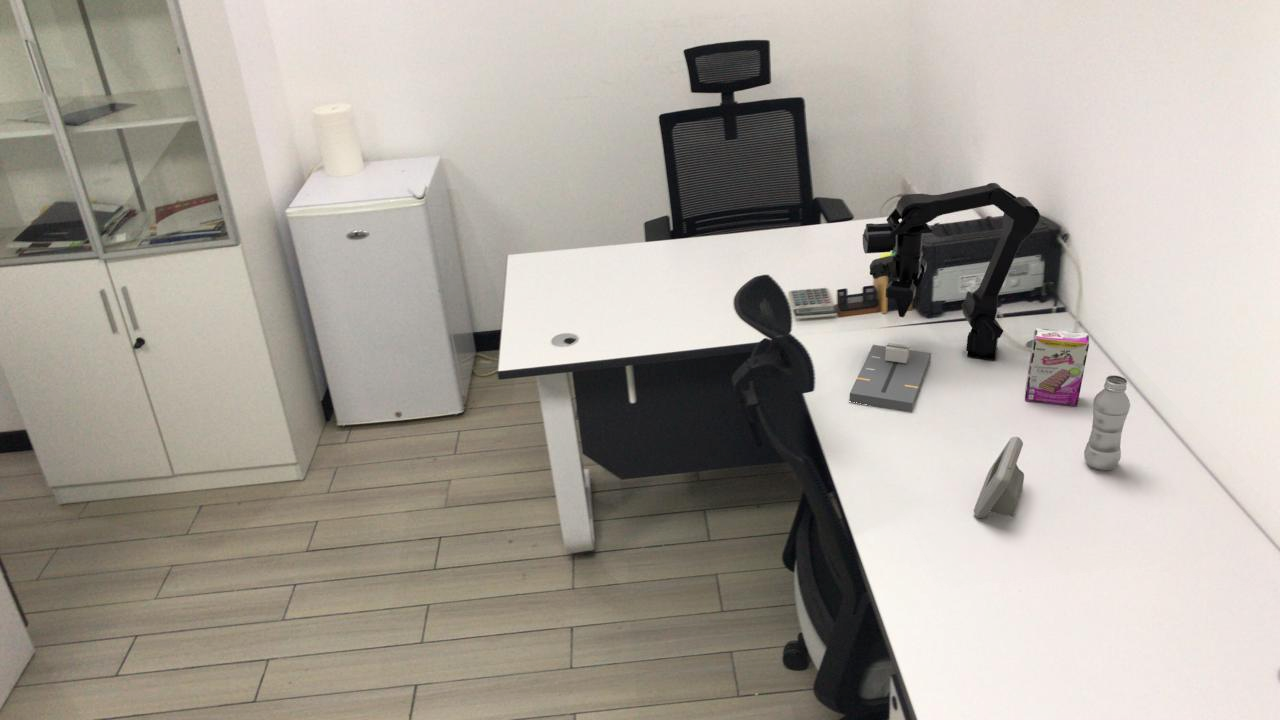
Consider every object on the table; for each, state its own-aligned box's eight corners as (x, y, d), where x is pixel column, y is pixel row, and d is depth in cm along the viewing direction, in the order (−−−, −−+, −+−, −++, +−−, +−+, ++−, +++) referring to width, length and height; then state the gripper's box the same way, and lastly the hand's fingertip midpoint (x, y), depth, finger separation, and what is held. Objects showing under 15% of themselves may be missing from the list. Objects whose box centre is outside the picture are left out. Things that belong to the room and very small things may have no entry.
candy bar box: (1024, 402, 224) (1033, 337, 216) (1024, 390, 228) (1033, 327, 220) (1078, 408, 220) (1090, 342, 212) (1077, 396, 224) (1088, 331, 216)
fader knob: (908, 357, 238) (909, 345, 237) (906, 363, 236) (907, 351, 235) (887, 354, 240) (888, 342, 239) (885, 360, 238) (885, 348, 236)
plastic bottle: (1121, 475, 198) (1139, 389, 189) (1085, 473, 200) (1101, 387, 190) (1114, 456, 204) (1131, 372, 194) (1079, 454, 205) (1094, 370, 195)
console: (930, 361, 242) (931, 352, 240) (911, 412, 223) (912, 402, 222) (872, 353, 247) (873, 344, 246) (849, 402, 228) (849, 392, 227)
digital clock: (991, 471, 202) (997, 428, 197) (1036, 487, 197) (1043, 442, 192) (957, 512, 192) (962, 467, 186) (1003, 530, 186) (1010, 484, 181)
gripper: (882, 231, 241) (878, 290, 248) (864, 262, 226) (861, 323, 234) (929, 236, 237) (924, 295, 244) (914, 267, 222) (910, 329, 230)
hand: (904, 310), depth 238 cm, fingers open, 7 cm apart
